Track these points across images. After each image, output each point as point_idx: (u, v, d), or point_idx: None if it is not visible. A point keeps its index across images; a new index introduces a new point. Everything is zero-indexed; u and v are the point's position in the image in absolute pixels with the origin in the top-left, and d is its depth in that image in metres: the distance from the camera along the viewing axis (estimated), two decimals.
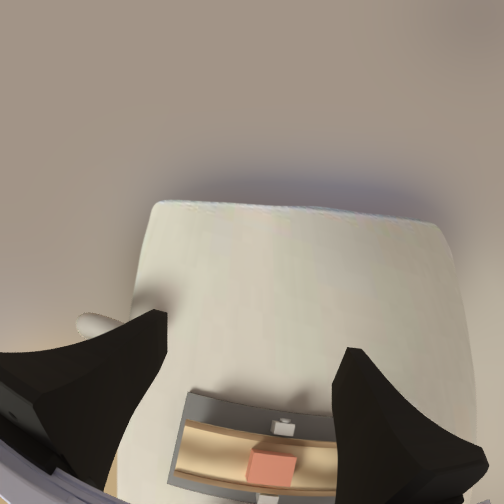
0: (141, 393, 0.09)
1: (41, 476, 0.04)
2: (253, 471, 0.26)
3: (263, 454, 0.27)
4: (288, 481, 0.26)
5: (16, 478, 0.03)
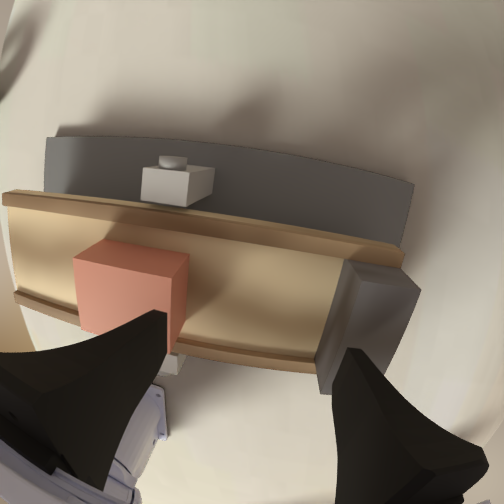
0: (141, 393, 0.09)
1: (41, 476, 0.04)
2: (84, 305, 0.12)
3: (92, 263, 0.12)
4: None
5: (16, 478, 0.03)
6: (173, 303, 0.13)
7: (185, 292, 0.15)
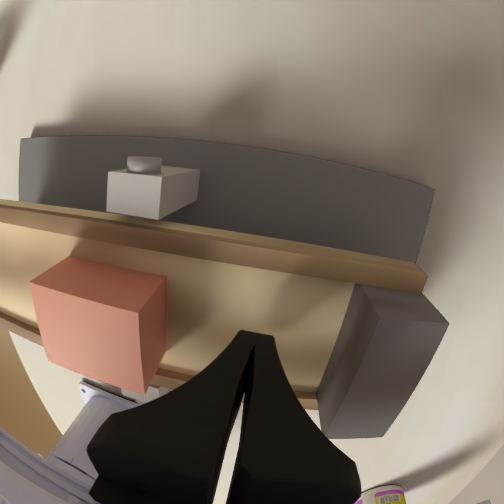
0: (235, 418, 0.09)
1: (41, 476, 0.04)
2: (47, 336, 0.10)
3: (50, 289, 0.09)
4: (135, 380, 0.10)
5: (16, 478, 0.03)
6: (144, 339, 0.10)
7: (163, 321, 0.12)
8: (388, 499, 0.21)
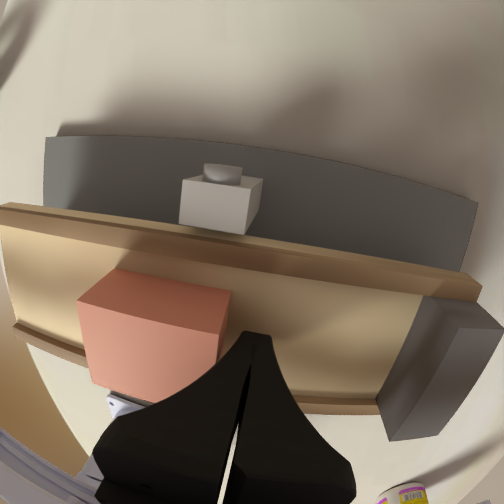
0: (238, 419, 0.09)
1: (41, 476, 0.04)
2: (95, 358, 0.09)
3: (104, 308, 0.09)
4: None
5: (16, 478, 0.03)
6: (216, 360, 0.10)
7: (224, 337, 0.12)
8: (412, 495, 0.21)
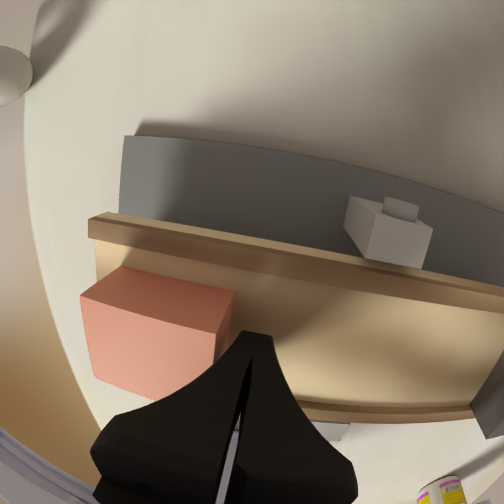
0: (237, 419, 0.09)
1: (41, 476, 0.04)
2: (97, 353, 0.10)
3: (106, 304, 0.09)
4: None
5: (16, 478, 0.03)
6: (215, 360, 0.09)
7: (227, 337, 0.12)
8: (451, 487, 0.21)
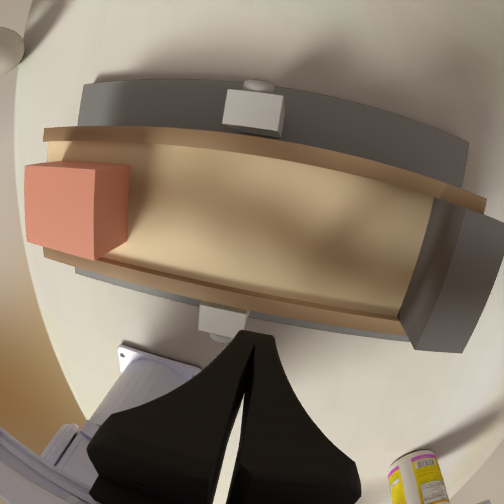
0: (235, 418, 0.09)
1: (41, 476, 0.04)
2: (30, 213, 0.12)
3: (38, 167, 0.11)
4: (87, 243, 0.12)
5: (16, 478, 0.03)
6: (100, 202, 0.11)
7: (124, 205, 0.14)
8: (425, 462, 0.23)
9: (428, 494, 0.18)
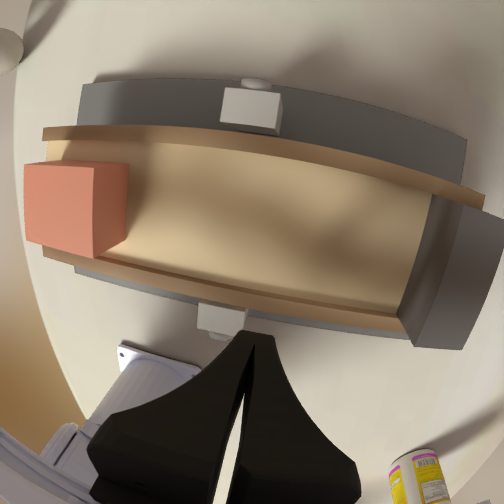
0: (235, 418, 0.09)
1: (41, 476, 0.04)
2: (29, 212, 0.12)
3: (38, 166, 0.11)
4: (86, 241, 0.12)
5: (16, 478, 0.03)
6: (98, 200, 0.11)
7: (123, 203, 0.14)
8: (425, 461, 0.23)
9: (429, 493, 0.18)
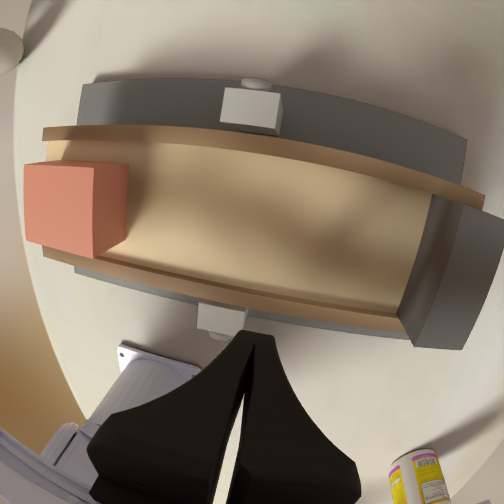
0: (235, 418, 0.09)
1: (41, 476, 0.04)
2: (29, 212, 0.12)
3: (38, 166, 0.11)
4: (86, 241, 0.12)
5: (16, 478, 0.03)
6: (98, 200, 0.11)
7: (123, 203, 0.14)
8: (425, 461, 0.23)
9: (429, 493, 0.18)
